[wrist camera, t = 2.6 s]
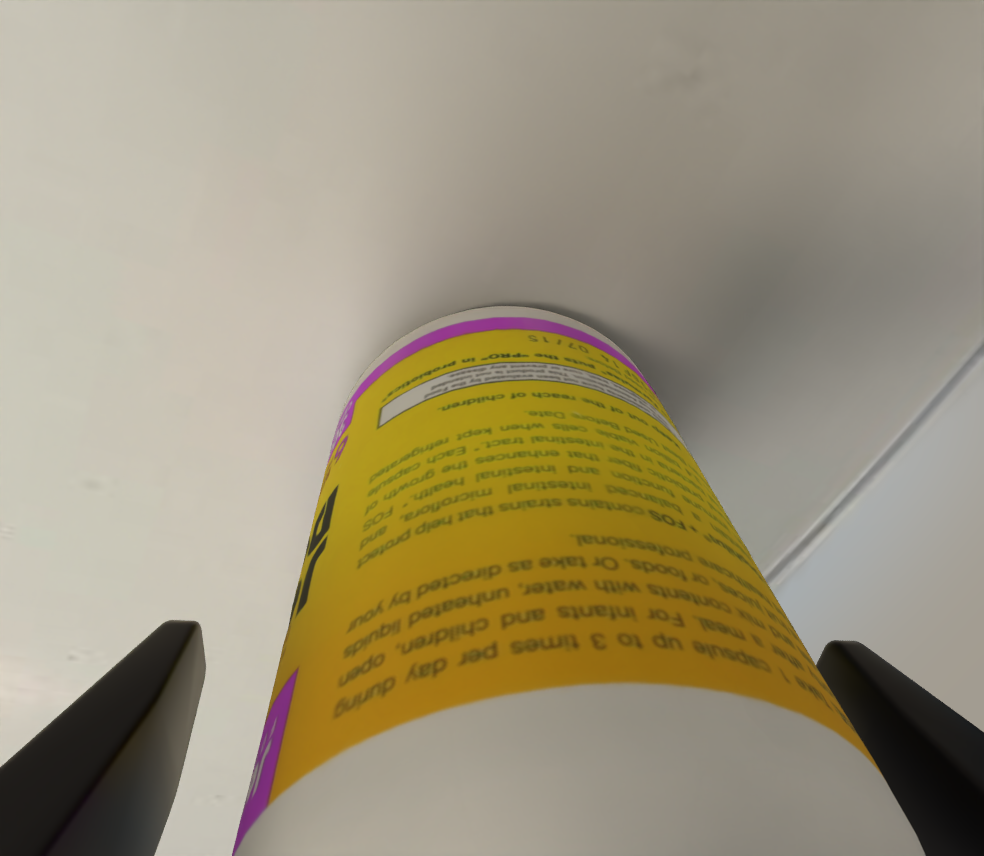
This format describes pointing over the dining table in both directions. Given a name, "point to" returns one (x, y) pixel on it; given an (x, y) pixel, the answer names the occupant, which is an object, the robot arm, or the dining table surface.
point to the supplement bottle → (542, 631)
